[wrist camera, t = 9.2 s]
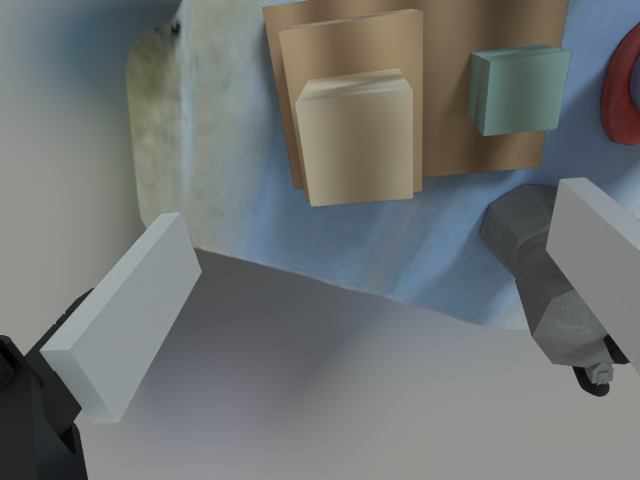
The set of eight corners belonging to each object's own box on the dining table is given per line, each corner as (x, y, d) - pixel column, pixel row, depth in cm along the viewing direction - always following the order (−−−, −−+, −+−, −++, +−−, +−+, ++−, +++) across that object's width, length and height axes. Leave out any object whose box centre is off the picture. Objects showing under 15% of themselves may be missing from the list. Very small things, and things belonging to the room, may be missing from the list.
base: (556, -38, 29) (628, -50, 21) (527, 155, 37) (572, 196, 29) (269, 6, 32) (242, 9, 24) (298, 176, 40) (285, 219, 32)
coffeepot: (470, 177, 38) (547, 296, 23) (575, 151, 36) (734, 263, 21) (485, 295, 46) (551, 443, 31) (573, 279, 44) (690, 429, 29)
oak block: (399, 68, 25) (412, 90, 20) (400, 156, 29) (413, 198, 23) (308, 79, 26) (295, 104, 20) (319, 164, 29) (310, 206, 23)
